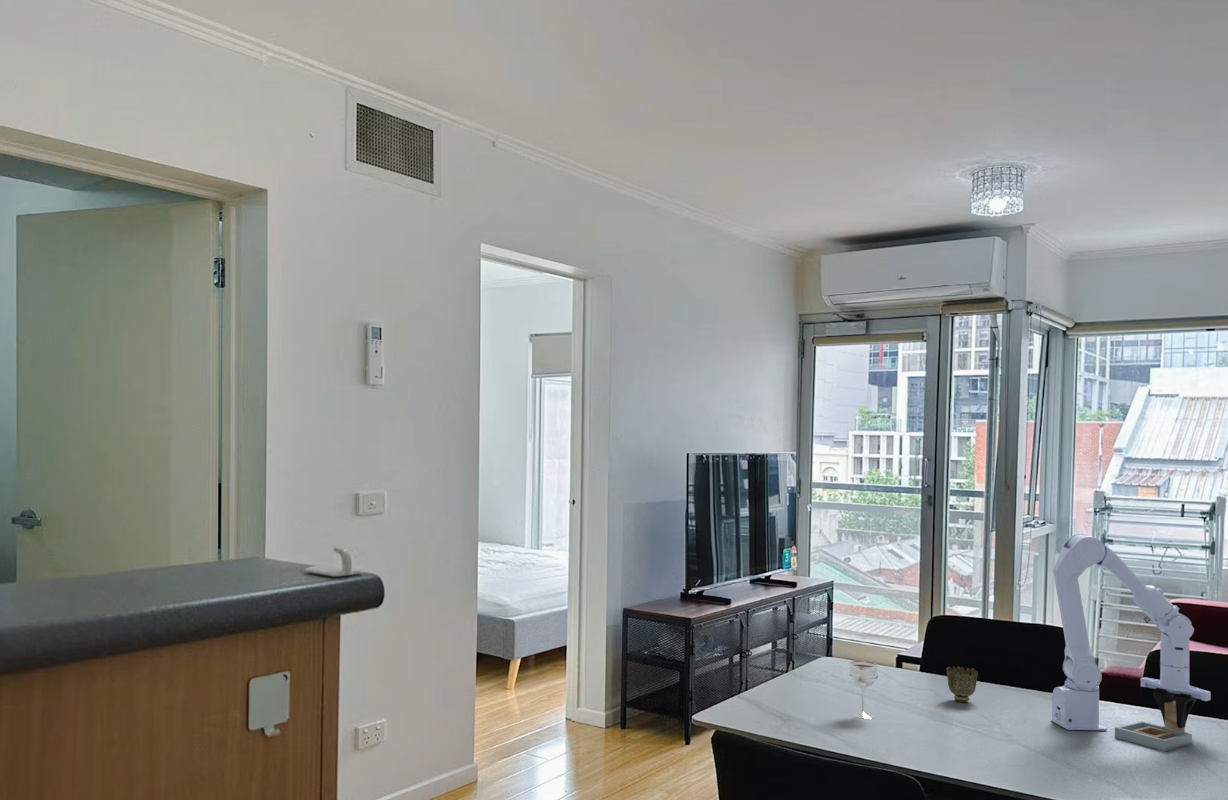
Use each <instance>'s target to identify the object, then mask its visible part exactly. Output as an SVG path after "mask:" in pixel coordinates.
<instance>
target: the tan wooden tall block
mask: <svg viewBox="0 0 1228 800" xmlns="http://www.w3.org/2000/svg"><path fill="white" fill-rule="evenodd" d="M1164 727H1166V728H1170V729H1174V730H1178V731H1182V732H1185V730H1186V726H1185V727H1183V728H1178V726H1177V708H1176V703H1175V700H1173V701H1170V702H1166V703H1165V724H1164Z"/></svg>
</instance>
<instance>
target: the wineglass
mask: <svg viewBox="0 0 1228 800" xmlns="http://www.w3.org/2000/svg"><path fill="white" fill-rule="evenodd" d="M849 666H850V667H849V668H848V676H849V678H850V680H851V681H852V682H853V683H854V684H856V685H857V686H858V687H859V688H860V689H861V690H860V691H861V711H858V712H852V713H851V716H853V717H854V718H857V719H873V718H874V716H873V714H871V713H868V712H865V711H864V709H865V691H866V689H867V687H869V686H872V685H873V684H874V683H875V682H876V681H877V680H878V677H879V672H878V671H879V670H878V667H879V664H877V663H876V662H872V661H867V660H852V661H851V660H850V661H849Z"/></svg>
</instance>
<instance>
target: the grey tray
mask: <svg viewBox="0 0 1228 800" xmlns="http://www.w3.org/2000/svg"><path fill="white" fill-rule="evenodd" d="M1114 738H1115V739H1120V740H1122V741H1123V740H1124V741H1126V742H1131V743H1134V744H1138V745H1141V746H1145V747H1149V748H1151V749H1155V750H1159V751H1163V752H1168V751H1171V750H1175V749H1179V748H1183V747H1188V746H1190V745H1192V744H1193V741H1192V740H1193V739H1192V738H1193V734H1192V733H1190V732H1182V731H1178V730H1174V729H1170V728H1166V727H1165V726H1163V725H1157V724H1154V723H1150V722H1146V721H1142V720H1140V721H1137V722H1132V723H1128V724H1123V725H1119V726H1115V727H1114Z"/></svg>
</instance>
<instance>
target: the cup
mask: <svg viewBox="0 0 1228 800" xmlns="http://www.w3.org/2000/svg"><path fill="white" fill-rule="evenodd" d="M945 670H946V676H947V683H948V689H949V690H950V693H952V694H953V698H954V700H955V701H956V702H958V703H965V704H966V703H968V702H969V701H970V697H971V696H972V695H974V693H975V691H976V687H977V683H978V681H977V680H978V673H979V672H978V671H977V670H976V669H975V668H969V667H967V668H966V669H965V668H964V667H963V666H961V667H960V666H957V667H955V666H952V667H951V666H948V667H946V668H945Z"/></svg>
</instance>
